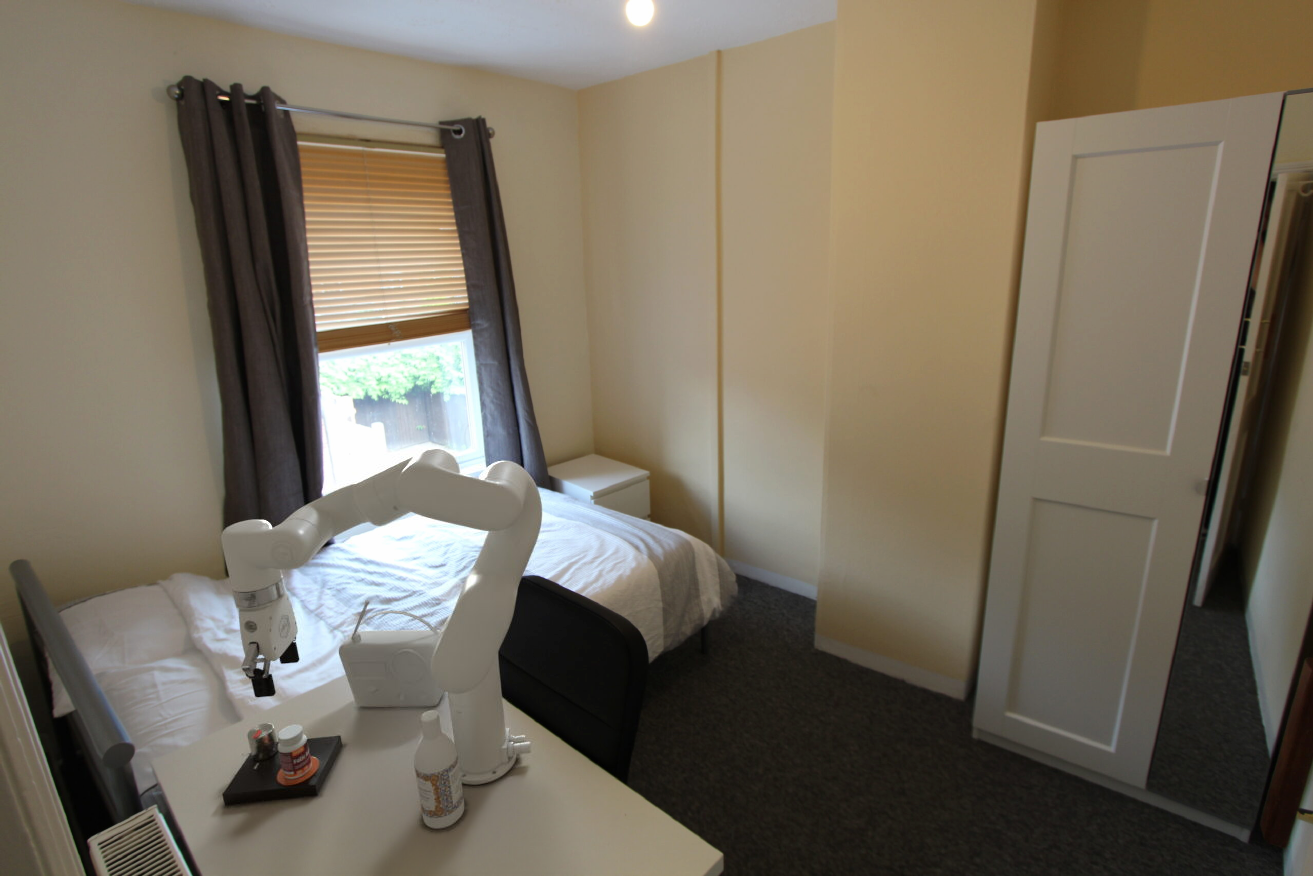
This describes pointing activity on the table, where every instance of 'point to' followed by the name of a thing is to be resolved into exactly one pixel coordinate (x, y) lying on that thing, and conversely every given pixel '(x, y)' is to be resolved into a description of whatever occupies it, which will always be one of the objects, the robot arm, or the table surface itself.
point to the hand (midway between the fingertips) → (278, 678)
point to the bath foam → (438, 774)
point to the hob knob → (262, 741)
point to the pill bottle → (294, 752)
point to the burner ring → (286, 781)
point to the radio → (391, 665)
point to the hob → (261, 776)
